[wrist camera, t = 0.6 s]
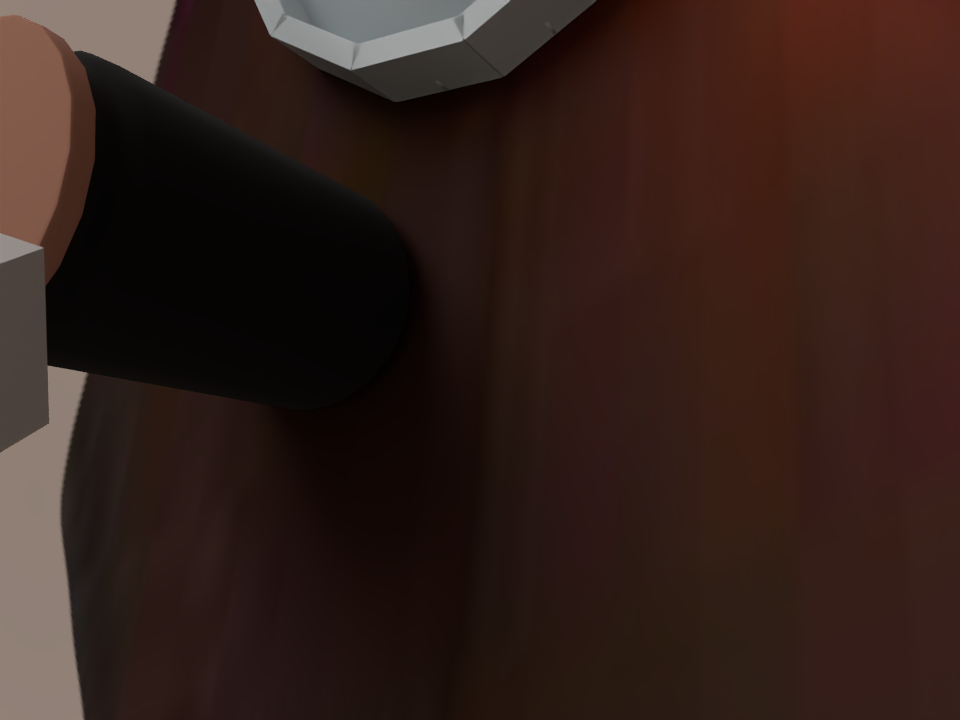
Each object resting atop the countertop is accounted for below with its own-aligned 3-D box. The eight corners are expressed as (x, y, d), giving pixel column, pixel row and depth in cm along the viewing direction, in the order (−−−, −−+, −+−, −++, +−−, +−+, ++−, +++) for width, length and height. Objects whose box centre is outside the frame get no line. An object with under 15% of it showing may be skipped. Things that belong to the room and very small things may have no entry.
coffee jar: (360, 153, 44) (14, -54, 28) (461, 317, 39) (115, 177, 24) (219, 292, 47) (-159, 174, 32) (298, 459, 42) (-99, 415, 27)
